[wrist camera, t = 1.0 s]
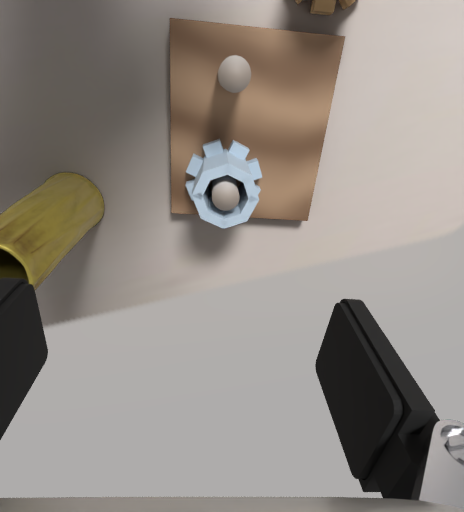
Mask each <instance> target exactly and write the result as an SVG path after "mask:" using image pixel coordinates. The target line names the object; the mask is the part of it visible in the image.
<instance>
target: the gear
mask: <svg viewBox="0 0 464 512" xmlns="http://www.w3.org/2000/svg"><path fill="white" fill-rule="evenodd" d="M203 149H204V152H205V155H206V156H204V158H202V157H200V156H198V155H196V154H193V156H192V158H191V160H190V163H189V165H188V167H187V170H186V173H188V174H191V175H193V176H195V179H193V180H190V181H187V182H186V188H187V190H188V192H189V195H190V197H191V200H192V201H193V200H194V203H195V205H196V208H197V210H198V213H199V215H200V218H201V219H203V220H205V221H207V222H209V223H212V224H214V225H216V226H218V227H221V228H223V229H224V228H228V227H231V226H234V225H237V224H240V223H243V222H246V221H248V219H249V217H250V215H251V214H252V212H253V210H254V208H255V206H256V205H257V203H258V201H259V197H258V194H259V193H260V191H261V189H260V187H259V186H258V185H256V184H255V183H254V180H256V179H259V178H262V174H261V170H260V166H259V163H258V160H257V158H255V159H252V160H249V161H246V159H245V158H246V156H247V154H248V152H249V148H248V147H246V146H244V145H242V144H240V143H238V142H236V141H234V140H233V141H232V143H231V145H230V147H229V149H228V150H227V149H223V147H222V144H221V141H220V139H217V140H215V141H212V142H209V143H206V144H203ZM225 175H229V176H231V177H233V178H235V179H237V180H239V181H241V183H240V185H239V187H238V191H239V202H238V204H237V206H236V207H235V208H233V209H231V210H228V211H223V210H220V209H218V208H217V207H216V206H215V205H214V204H213V201H212V191H210V190H209V187H208V184H209V182H210V180H213V179H216V178H219V177H222V176H225Z"/></svg>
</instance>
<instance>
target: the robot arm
mask: <svg viewBox="0 0 464 512" xmlns="http://www.w3.org/2000/svg"><path fill="white" fill-rule="evenodd" d="M47 354H48V349H47V345H46V340H45V335H44V331H43V326H42V322H41V317H40V313H39V308H38V303H37V299H36V294H35V290H34V287H33V285H32V284H28V282H27V280H26V279H21V278H5V277H4V278H1V279H0V440H1V438H2V436H3V434H4V433H5V431H6V429H7V427H8V426H9V424H10V422H11V421H12V419H13V417H14V415H15V413H16V412H17V410H18V408H19V407H20V405H21V403H22V401H23V400H24V398H25V396H26V395H27V393H28V391H29V389H30V388H31V386H32V384H33V383H34V381H35V379H36V377H37V376H38V374H39V372H40V370H41V369H42V366H43V365H44V363H45V361H46V359H47ZM316 373H317V376H318V378H319V381H320V384H321V387H322V390H323V393H324V396H325V399H326V401H327V404H328V407H329V410H330V413H331V416H332V419H333V421H334V424H335V427H336V430H337V433H338V436H339V439H340V442H341V444H342V447H343V450H344V453H345V456H346V458H347V462H348V465H349V467H350V470H351V473H352V475H353V476H354V477H355V478H356V479H359V482H360V484H361V487H362V490H363V492H381V494H382V497H383V498H346V497H69V498H68V497H66V498H0V512H464V423H462V422H460V421H456V420H451V419H445V420H441V421H440V420H439V418H438V417H437V415H436V414H435V410H434V409H433V407H432V406H431V404H430V403H429V401H428V400H427V398H426V396H425V395H424V394H423V392H422V390H421V389H420V388H419V386H418V384H417V383H416V381H415V380H414V378H413V377H412V375H411V374H410V372H409V371H408V369H407V368H406V366H405V365H404V363H403V362H402V360H401V359H400V357H399V356H398V354H397V353H396V351H395V350H394V348H393V347H392V345H391V344H390V342H389V340H388V339H387V337H386V336H385V334H384V333H383V332H382V330H381V328H380V327H379V325H378V324H377V322H376V321H375V319H374V318H373V316H372V315H371V313H370V312H369V310H368V309H367V307H366V306H365V304H364V303H363V302H362V301H361V300H355V299H343V300H341V301H340V303H336V304H335V306H334V309H333V312H332V315H331V318H330V321H329V324H328V327H327V330H326V333H325V336H324V339H323V342H322V345H321V348H320V351H319V354H318V357H317V360H316Z"/></svg>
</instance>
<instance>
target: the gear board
mask: <svg viewBox="0 0 464 512" xmlns="http://www.w3.org/2000/svg"><path fill="white" fill-rule="evenodd" d="M344 40H345V36H335V35H326V34H317V33H307V32H298V31H288V30H279V29H269V28H260V27H250V26H241V25H232V24H222V23H213V22H203V21H194V20H184V19H175V18H170V109H171V213H180V214H197V215H199V213H198V210H197V208H196V205H195V203H194V200H193V201H192V200H191V197H190V195H189V192H188V190H187V188H186V182H187V181H190V180H193V179H195V176H193V175H191V174H188V173H186V170H187V167H188V165H189V163H190V160H191V158H192V156H193V154H196V155H198V156H200V157H202V158H204V156H206V155H205V152H204V149H203V144H206V143H209V142H212V141H215V140H217V139H220V141H221V144H222V147H223V149H227V150H228V149H229V147H230V145H231V143H232V141H233V140H234V141H236V142H238V143H240V144H242V145H244V146H246V147H248V148H249V152H248V154H247V156H246V158H245V159H246V161H249V160H252V159H255V158H257V160H258V163H259V166H260V170H261V174H262V178H259V179H256V180H254V183H255V184H256V185H258V186H259V187H260V189H261V191H260V193H259V194H258V197H259V201H258V203H257V205H256V206H255V208H254V210H253V212H252V214H251V215H250V218H267V219H285V220H303V221H308V216H309V211H310V206H311V201H312V196H313V191H314V186H315V182H316V177H317V172H318V167H319V162H320V157H321V152H322V147H323V142H324V137H325V133H326V128H327V123H328V118H329V113H330V108H331V103H332V98H333V93H334V89H335V84H336V79H337V74H338V69H339V64H340V59H341V54H342V49H343V45H344ZM240 183H241V181H239V180H237V179H235V178H233V177H231V176H229V175H225V176H222V177H219V178H216V179H213V180H210V182H209V184H208V187H209V190H210V191H212V201H213V204H214V205H215V206H216V207H217V208H218V209H220V210H223V211H228V210H231V209H233V208H235V207H236V206H237V204H238V202H239V191H238V187H239V185H240Z"/></svg>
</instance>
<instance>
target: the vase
mask: <svg viewBox="0 0 464 512" xmlns="http://www.w3.org/2000/svg"><path fill="white" fill-rule="evenodd" d="M103 213H104V202H103V198H102V195H101V194H100V192H99V190H98V189H97V188H96V187H95V185H94V184H93V183H92V182H91V181H89V180H88V179H86V178H85V177H83V176H81V175H78V174H75V173H58V174H55V175H53V176H52V177H50V178H49V179H47V180H46V181H45V183H44V184H43V185H41V186H40V187H38V188H37V189H35V190H34V191H32V192H31V193H30V194H28V195H26V196H25V197H23V198H22V199H20V200H19V201H17V202H16V203H15V204H13V205H12V206H10V207H9V208H8V209H7V210H6V211H4V212H3V213H2V214H0V279H1V278H4V277H5V278H21V279H26V280H27V282H28V284H32V285H33V287H34V290H36V289H37V288H38V287H39V285H40V284H41V283H42V282H43V281H44V280H45V278H46V277H47V276H48V275H49V274H50V273H51V272H52V270H53V269H54V268H55V267H56V266H57V265H58V263H59V262H60V261H61V260H62V258H63V257H64V256H65V255H66V254H67V253H68V252H69V251H70V250H71V249H72V248H73V247H74V246H75V245H76V244H77V243H78V242H79V240H80V239H81V238H82V237H83V236H84V235H85V234H86V232H87V231H88V230H89V229H91V228H92V227H94V226H95V225H96V224H97V223H98V222H99V221H100V220H101V218H102V216H103Z"/></svg>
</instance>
